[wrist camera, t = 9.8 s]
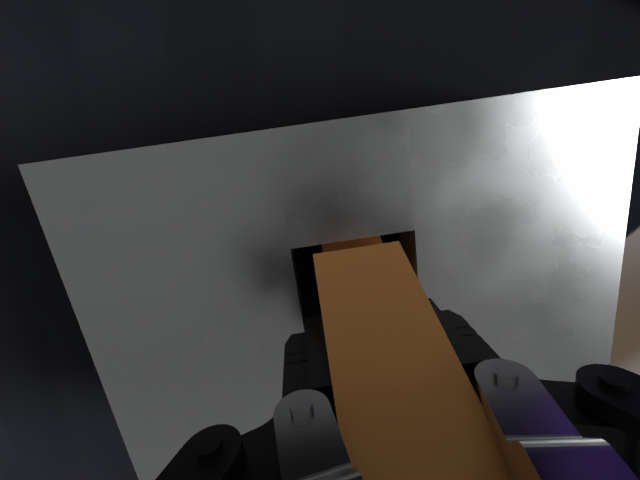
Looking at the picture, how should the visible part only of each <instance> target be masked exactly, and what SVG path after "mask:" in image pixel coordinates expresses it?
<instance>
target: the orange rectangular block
mask: <svg viewBox="0 0 640 480" xmlns="http://www.w3.org/2000/svg"><path fill="white" fill-rule="evenodd" d="M321 246H322V253H317V254H313V260H314V267H315V273H316V280H317V287H318V294H319V300H320V307H321V314H322V321H323V327H324V334H325V341H326V348H327V354H328V361H329V368H330V375H331V381H332V388H333V395H334V401H335V408H336V415H337V422H338V427H339V430H340V433H341V436H342V438H343V441H344V444H345V447H346V450H347V452H348V455H349V458H350V461H351V463H352V466H353V467H357V468H358V470H359V471H360V474H361V476H362V479H363V480H511V477H510V472H509V468H508V465H507V462H506V459H505V457H504V455H503V452H502V450H501V448H500V446H499V444H498V442H497V440H496V437H495V435H494V433H493V431H492V429H491V427H490V424H489V422H488V420H487V418H486V415H485V412H484V409H483V406H482V404H481V402H480V400H479V398H478V396H477V394H476V392H475V390H474V388H473V386H472V384H471V382H470V380H469V378H468V376H467V375H466V373H465V371H464V369H463V367H462V365H461V363H460V361H459V359H458V357H457V355H456V353H455V351H454V349H453V347H452V345H451V343H450V341H449V339H448V337H447V335H446V333H445V331H444V329H443V327H442V325H441V323H440V321H439V319H438V317H437V315H436V313H435V311H434V309H433V307H432V305H431V303H430V302H429V300H428V298H427V296H426V294H425V292H424V290H423V288H422V286H421V284H420V282H419V280H418V278H417V276H416V274H415V272H414V270H413V268H412V266H411V264H410V262H409V260H408V258H407V256H406V254H405V252H404V250H403V248H402V246H401V244H400V242H399V241H395V242H388V243H383V242H382V240H381V237H380V236H373V237H366V238H360V239H353V240H347V241H340V242H334V243H327V244H321Z"/></svg>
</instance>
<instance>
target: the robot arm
mask: <svg viewBox="0 0 640 480" xmlns="http://www.w3.org/2000/svg"><path fill="white" fill-rule="evenodd" d="M428 300H429V302H430V303H431V305H432V307H433V309H434V311H435V313H436V315H437V317H438V319H439V321H440V323H441V325H442V327H443V329H444V331H445V333H446V335H447V337H448V339H449V341H450V343H451V345H452V347H453V349H454V351H455V353H456V355H457V357H458V359H459V361H460V363H461V365H462V367H463V369H464V371H465V373H466V375H467V376H468V378H469V380H470V382H471V384H472V386H473V388H474V390H475V392H476V394H477V396H478V398H479V400H480V402H481V404H482V406H483V409H484V412H485V415H486V418H487V420H488V422H489V424H490V427H491V429H492V431H493V433H494V435H495V437H496V440H497V442H498V444H499V446H500V448H501V450H502V452H503V455H504V457H505V459H506V462H507V465H508V468H509V472H510V477H511V480H640V375H637V374H635V373H633V372H630V371H627V370H625V369H622V368H619V367H616V366H611V365H605V364H589V365H585V366H582V367H580V368H579V369H578V370H577V372H576V377H575V382H567V381H552V380H542V379H538V378H537V376H536V375H535V374H534V373H533V372H532V371H531V370H530V369H529V368H527V367H526V366H524V365H522V364H520V363H517V362H515V361H511V360H507V359H501V358H500V357H499V356H498V354H497V353H496V352H495V351H494V350H493V349H492V348H491V347H490V346H489V345H488V344H487V343H486V342H485V341H484V340H483V338H482V337H481V336H480V335H478V334H477V332H476V331H475V330H474V329H473V328H472V327H470V325H469V323H468V322H467V321H466V320H465V319H464V318H463V317H462V316H460V315H458V314H456V313H454V312H452V311H450V310H442V311H441V310H440V309H439V308H438V306H437V305H436V304H435V303H434V302H433V300H432V299H431V298H428ZM305 329H306V332H303V333H296V334H291V336H290V337H289V339H288V340H287V342H286V343H285V348H284V367H283V386H282V399H281V400H280V401H279V402H278V404H277V405H276V407H275V409H274V413H273V417H272V418H271V419H270V420H269V421H268V422H266V423H265V424H263V425H262V426H260V427H258V428H256V429H253V430H251V431H249V432H247V433H244V434H242V435H241V434H240V432H239V431H238V430H237V429H236V428H235V427H233V426H231V425H227V424H217V425H213V426H209V427H207V428H204V429H202V430H201V431H199V432H197V433H196V434H195V435H193V436H192V437H191V438H190V439H189V440H188V441H187V442H186V443H185V444H184V445H183V447H182V448H181V449H180V450H179V451H178V453H177V454H176V455H175V456H174V457H173V459H172V460H171V461H170V462H169V463H168V465H167V466H166V467H165V468H164V469H163V471H162V472H161V473H160V474H159V475H158V477H157V478H156V479H155V480H363V479H362V476H361V474H360V471H359V470H358V468H357V467H353V466H352V463H351V461H350V458H349V455H348V452H347V450H346V447H345V444H344V441H343V438H342V436H341V433H340V430H339V427H338V422H337V415H336V408H335V401H334V395H333V388H332V381H331V375H330V368H329V361H328V354H327V348H326V341H325V334H324V327H323V321H322V315H315V316H309V317H305Z"/></svg>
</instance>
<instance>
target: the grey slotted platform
mask: <svg viewBox="0 0 640 480" xmlns="http://www.w3.org/2000/svg"><path fill="white" fill-rule="evenodd" d="M639 123H640V76H637V77H630V78H623V79H616V80H609V81H602V82H595V83H588V84H581V85H574V86H567V87H560V88H553V89H546V90H539V91H532V92H525V93H518V94H511V95H504V96H497V97H490V98H483V99H476V100H469V101H462V102H455V103H448V104H441V105H434V106H427V107H420V108H413V109H406V110H399V111H392V112H385V113H378V114H371V115H364V116H357V117H350V118H343V119H336V120H329V121H322V122H315V123H308V124H301V125H294V126H287V127H280V128H273V129H266V130H259V131H252V132H245V133H238V134H231V135H224V136H217V137H210V138H203V139H196V140H189V141H182V142H175V143H168V144H161V145H154V146H147V147H140V148H133V149H126V150H119V151H112V152H105V153H98V154H91V155H84V156H77V157H70V158H63V159H56V160H49V161H42V162H35V163H28V164H21V165H18V167H19V169H20V172H21V174H22V177H23V180H24V182H25V185H26V187H27V190H28V193H29V195H30V198H31V200H32V203H33V206H34V208H35V211H36V213H37V216H38V219H39V221H40V224H41V226H42V229H43V232H44V234H45V237H46V239H47V242H48V245H49V247H50V250H51V252H52V255H53V258H54V260H55V263H56V265H57V268H58V271H59V273H60V276H61V278H62V281H63V284H64V286H65V289H66V292H67V294H68V297H69V299H70V302H71V305H72V307H73V310H74V312H75V315H76V318H77V320H78V323H79V325H80V328H81V331H82V333H83V336H84V338H85V341H86V344H87V346H88V349H89V351H90V354H91V357H92V359H93V362H94V364H95V367H96V370H97V372H98V375H99V377H100V380H101V383H102V385H103V388H104V390H105V393H106V396H107V398H108V401H109V404H110V406H111V409H112V411H113V414H114V417H115V419H116V422H117V424H118V427H119V430H120V432H121V435H122V437H123V440H124V443H125V445H126V448H127V450H128V453H129V456H130V458H131V461H132V463H133V466H134V469H135V471H136V474H137V476H138V479H139V480H155V479H156V478H157V477H158V475H159V474H160V473H161V472H162V471H163V469H164V468H165V467H166V466H167V465H168V463H169V462H170V461H171V460H172V459H173V457H174V456H175V455H176V454H177V453H178V451H179V450H180V449H181V448H182V447H183V445H184V444H185V443H186V442H187V441H188V440H189V439H190V438H191V437H192V436H193V435H195V434H196V433H197V432H199V431H201V430H202V429H204V428H207V427H209V426H213V425H217V424H227V425H231V426H233V427H235V428H236V429H237V430H238V431H239V432H240V434H241V435H242V434H244V433H247V432H249V431H251V430H253V429H256V428H258V427H260V426H262V425H263V424H265V423H266V422H268V421H269V420H270V419H271V418H272V417H273V413H274V409H275V407H276V405H277V404H278V402H279V401H280V400H281V399H282V386H283V367H284V348H285V343H286V342H287V340H288V339H289V337H290V336H291V334H296V333H303V332H306V329H305V314H304V308H303V302H302V296H301V290H300V284H299V278H298V272H297V266H296V260H295V254H294V248H301V247H307V246H314V245H320V244H327V243H334V242H340V241H347V240H353V239H360V238H366V237H373V236H380V235H386V234H393V233H399V232H400V243H401V246H402V248H403V250H404V252H405V254H406V256H407V258H408V260H409V262H410V264H411V266H412V268H413V270H414V272H415V274H416V276H417V278H418V280H419V282H420V284H421V286H422V288H423V290H424V292H425V294H426V296H427V298H431V299H432V300H433V302H434V303H435V304H436V305H437V306H438V308H439V309H440V310H441V311H442V310H450V311H452V312H454V313H456V314H458V315H460V316H462V317H463V318H464V319H465V320H466V321H467V322H468V323H469V325H470V327H472V328H473V329H474V330H475V331H476V332H477V334H478V335H480V336H481V337H482V338H483V340H484V341H485V342H486V343H487V344H488V345H489V346H490V347H491V348H492V349H493V350H494V351H495V352H496V353H497V354H498V356H499V357H500V358H501V359H507V360H511V361H515V362H517V363H520V364H522V365H524V366H526V367H527V368H529V369H530V370H531V371H532V372H533V373H534V374H535V375H536V376H537V378H538V379H542V380H552V381H567V382H575V377H576V372H577V370H578V369H579V368H580V367H582V366H585V365H589V364H605V365H610V356H611V349H612V341H613V333H614V325H615V317H616V309H617V300H618V293H619V285H620V276H621V268H622V260H623V252H624V244H625V236H626V228H627V220H628V212H629V204H630V196H631V188H632V180H633V172H634V164H635V156H636V148H637V139H638V131H639Z"/></svg>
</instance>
